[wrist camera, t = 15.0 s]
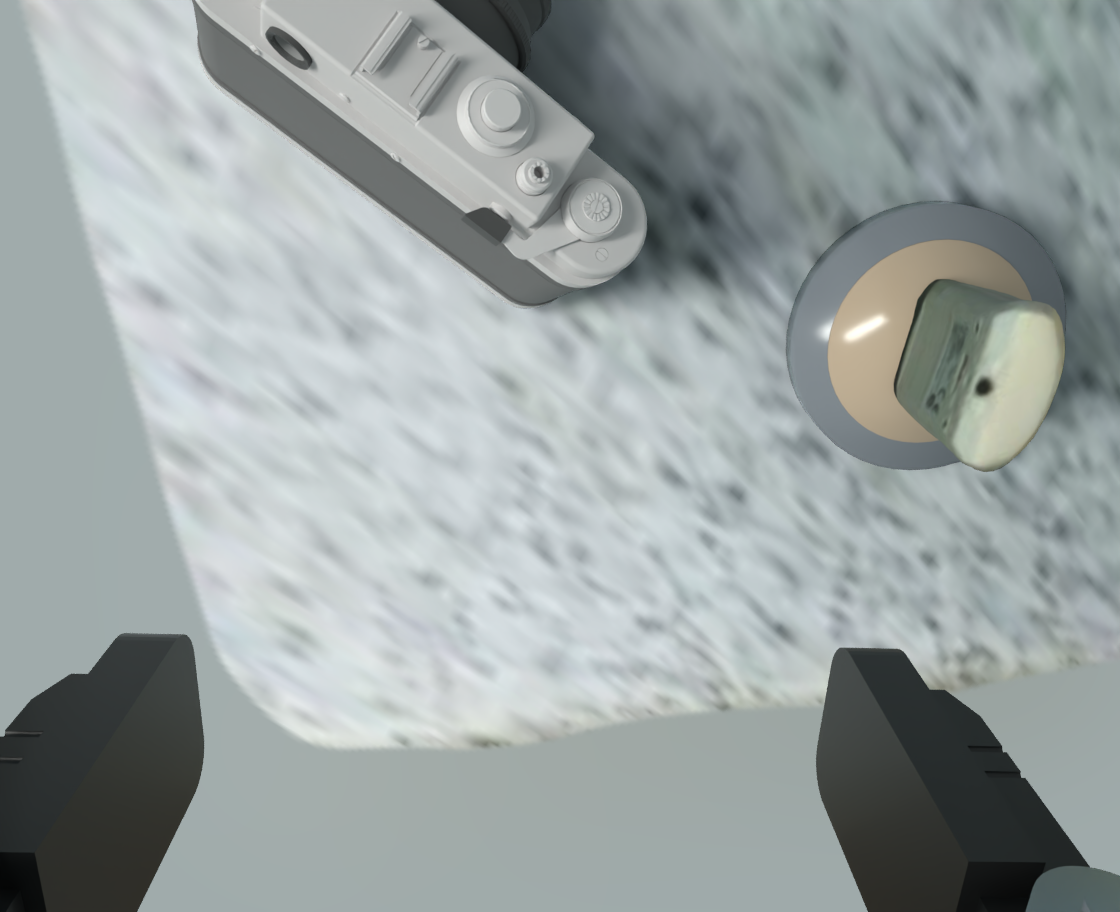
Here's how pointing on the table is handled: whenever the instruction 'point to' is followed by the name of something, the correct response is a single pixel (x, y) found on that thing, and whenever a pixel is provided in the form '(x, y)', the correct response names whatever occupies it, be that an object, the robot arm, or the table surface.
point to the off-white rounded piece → (980, 370)
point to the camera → (435, 130)
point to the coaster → (897, 318)
